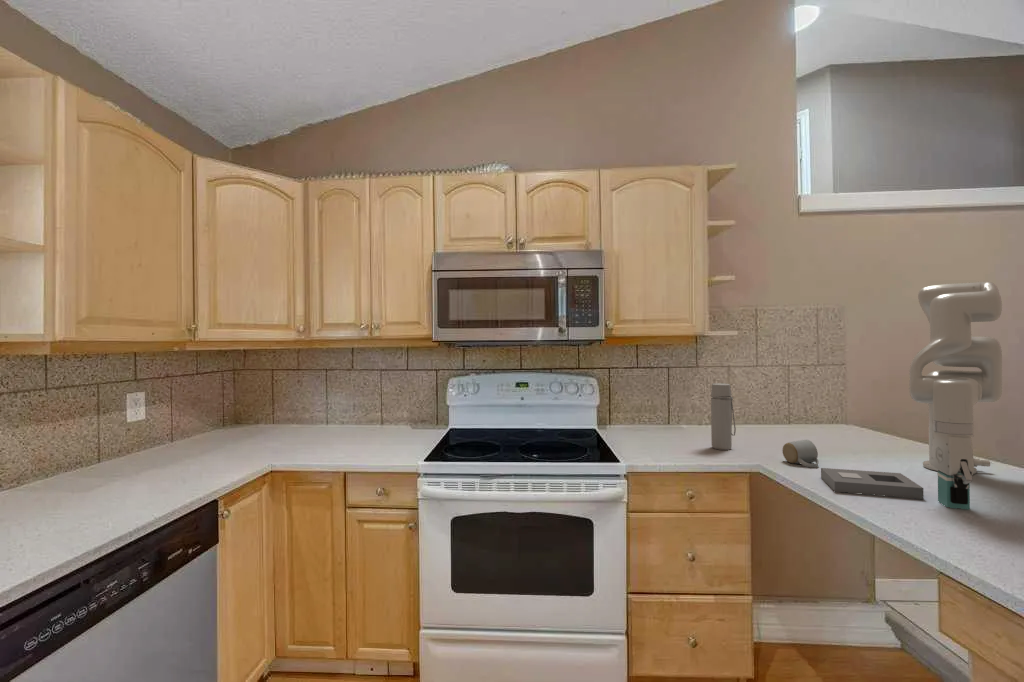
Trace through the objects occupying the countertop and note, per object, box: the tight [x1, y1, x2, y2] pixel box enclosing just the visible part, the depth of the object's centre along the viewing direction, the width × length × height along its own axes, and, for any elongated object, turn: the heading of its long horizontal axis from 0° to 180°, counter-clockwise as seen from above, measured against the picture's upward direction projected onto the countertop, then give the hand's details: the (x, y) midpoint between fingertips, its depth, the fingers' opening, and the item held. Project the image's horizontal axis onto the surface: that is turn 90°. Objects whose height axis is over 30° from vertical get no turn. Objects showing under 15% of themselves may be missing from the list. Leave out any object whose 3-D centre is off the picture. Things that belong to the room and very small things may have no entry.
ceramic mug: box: [782, 439, 819, 469], centre depth 159 cm, size 11×8×8 cm
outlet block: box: [820, 467, 924, 500], centre depth 134 cm, size 20×14×3 cm
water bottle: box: [710, 382, 737, 451], centre depth 183 cm, size 9×8×25 cm
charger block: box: [936, 471, 971, 510], centre depth 120 cm, size 5×5×8 cm
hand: (953, 499), depth 120 cm, fingers closed on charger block, 4 cm apart
